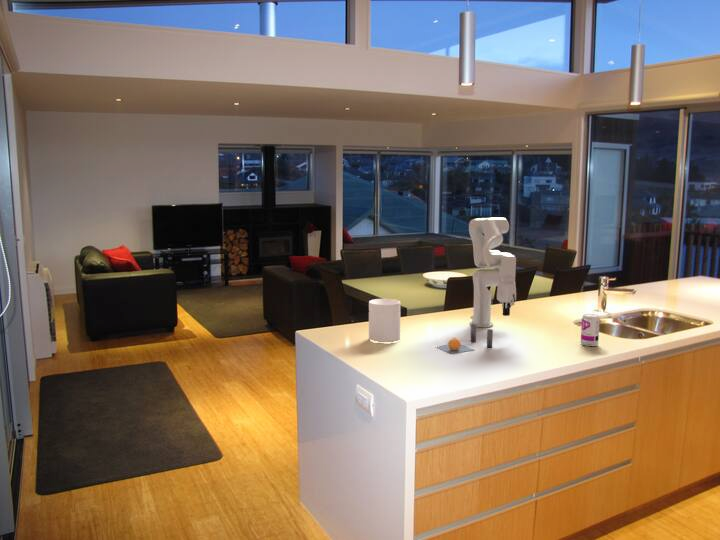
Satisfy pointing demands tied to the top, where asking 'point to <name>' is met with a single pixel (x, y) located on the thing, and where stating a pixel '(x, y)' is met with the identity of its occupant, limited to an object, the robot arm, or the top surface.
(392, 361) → the top surface
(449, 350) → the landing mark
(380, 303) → the canister
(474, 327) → the post
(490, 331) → the post
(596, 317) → the supplement can
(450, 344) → the ball
